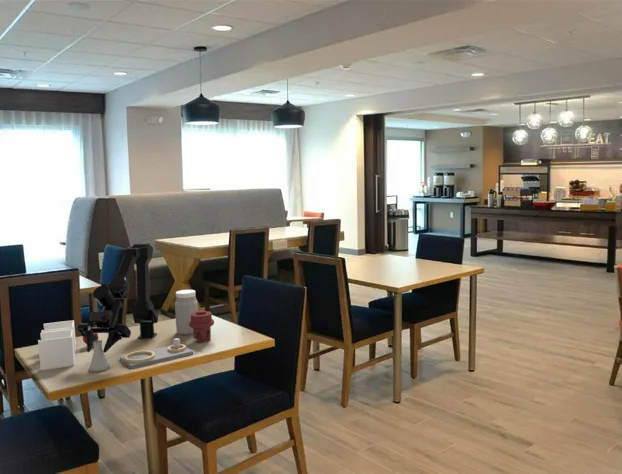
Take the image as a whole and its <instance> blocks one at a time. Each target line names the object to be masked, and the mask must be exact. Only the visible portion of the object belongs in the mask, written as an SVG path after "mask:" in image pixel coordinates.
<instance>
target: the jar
mask: <svg viewBox="0 0 622 474" xmlns="http://www.w3.org/2000/svg"><path fill="white" fill-rule="evenodd" d="M196 294H197V293H196V290H194V289H180V290H177V291H176V292H175V297H176V298H175V299H176V300H175V302H174V309H175V310H174V312H175V313H174V314H175V329H176V333H177V334H178V335H180V336H193V328H191V327H190V326H189V322H190V321H191V314H192V313H194V312H196V311H198V310H199V306H198V305H199V304H198V303H199V302H198V300H197V299H196V298H197V297H196Z"/></svg>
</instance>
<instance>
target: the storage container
mask: <svg viewBox="0 0 622 474" xmlns="http://www.w3.org/2000/svg"><path fill="white" fill-rule="evenodd" d="M76 339H77V338H76V328H75V320H64V321H56V322H49V323H43V329H42V330H41V332H40V339H38V340H37V342H38V343H37V344H38V346H37V347H38V354H39V366H40V371H46V370H51V369H52V370H53V369H60V368H66V367H75V362H76V361H75V358H76V351H77V341H76Z"/></svg>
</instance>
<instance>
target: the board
mask: <svg viewBox="0 0 622 474" xmlns="http://www.w3.org/2000/svg"><path fill="white" fill-rule="evenodd" d="M172 340H173V341H172V343H173V344H171V345H167V346H162V347H159V348H155V349H151V350H150V349H149V350H146V349H145V350H136V351H133V352H132V351H131V352H129V353H127V354H125V355H123V356H122V355H121V356H119V361H120V362H122V363H123V364H124V365H125V366H127V367H128V368H129V369H131V370H132V369H136V368H140V367H144V366H148V365H153V364H157V363H161V362H165V361H166V362H167V361H170V360H175V359H179V358H182V357H187V356H190V355H194V350H192V349H190V348H189V347H187V345H185V344H181V343H180V342H181V340H180V338H173V339H172Z"/></svg>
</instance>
